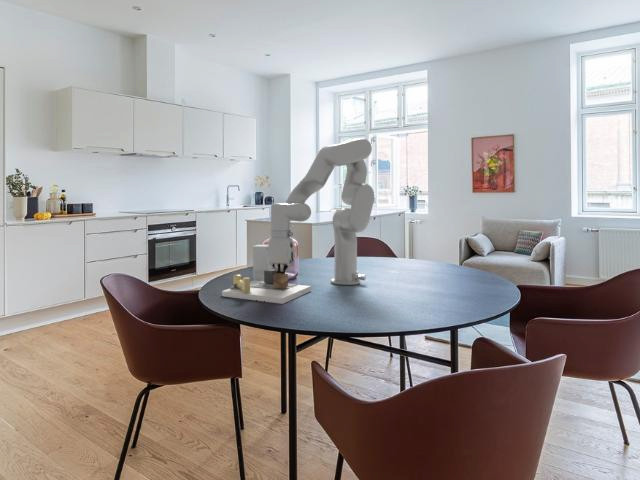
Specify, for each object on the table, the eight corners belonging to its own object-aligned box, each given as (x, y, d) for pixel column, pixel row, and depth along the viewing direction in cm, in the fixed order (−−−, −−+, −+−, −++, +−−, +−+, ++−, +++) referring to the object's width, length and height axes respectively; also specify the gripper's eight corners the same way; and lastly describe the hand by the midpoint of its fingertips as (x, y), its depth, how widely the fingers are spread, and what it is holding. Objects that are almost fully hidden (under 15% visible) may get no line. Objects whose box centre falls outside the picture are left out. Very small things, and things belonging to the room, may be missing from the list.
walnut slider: (288, 286, 179) (287, 273, 178) (282, 288, 175) (282, 275, 174) (279, 285, 180) (278, 273, 180) (273, 287, 177) (273, 274, 176)
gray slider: (278, 281, 188) (277, 269, 187) (272, 283, 184) (272, 271, 184) (269, 280, 190) (269, 268, 189) (264, 282, 186) (264, 270, 185)
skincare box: (266, 283, 198) (266, 246, 197) (252, 282, 200) (251, 246, 198) (272, 279, 206) (272, 244, 205) (258, 278, 208) (257, 243, 206)
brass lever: (251, 292, 170) (251, 278, 169) (243, 293, 168) (243, 278, 168) (240, 285, 182) (239, 272, 181) (232, 285, 180) (232, 272, 180)
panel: (310, 291, 183) (310, 285, 183) (282, 303, 163) (282, 297, 163) (252, 284, 195) (252, 279, 194) (220, 295, 175) (219, 289, 175)
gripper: (301, 234, 183) (302, 280, 185) (269, 233, 189) (269, 277, 191) (292, 236, 176) (293, 284, 178) (259, 234, 183) (259, 280, 185)
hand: (280, 280), depth 185 cm, fingers closed
